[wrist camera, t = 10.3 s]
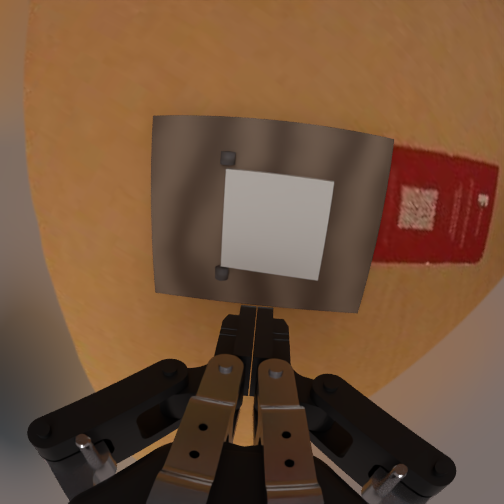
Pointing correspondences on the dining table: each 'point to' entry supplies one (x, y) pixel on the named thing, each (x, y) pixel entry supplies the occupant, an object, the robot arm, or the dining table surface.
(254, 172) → the tile
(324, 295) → the walnut board
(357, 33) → the dining table surface
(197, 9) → the dining table surface
